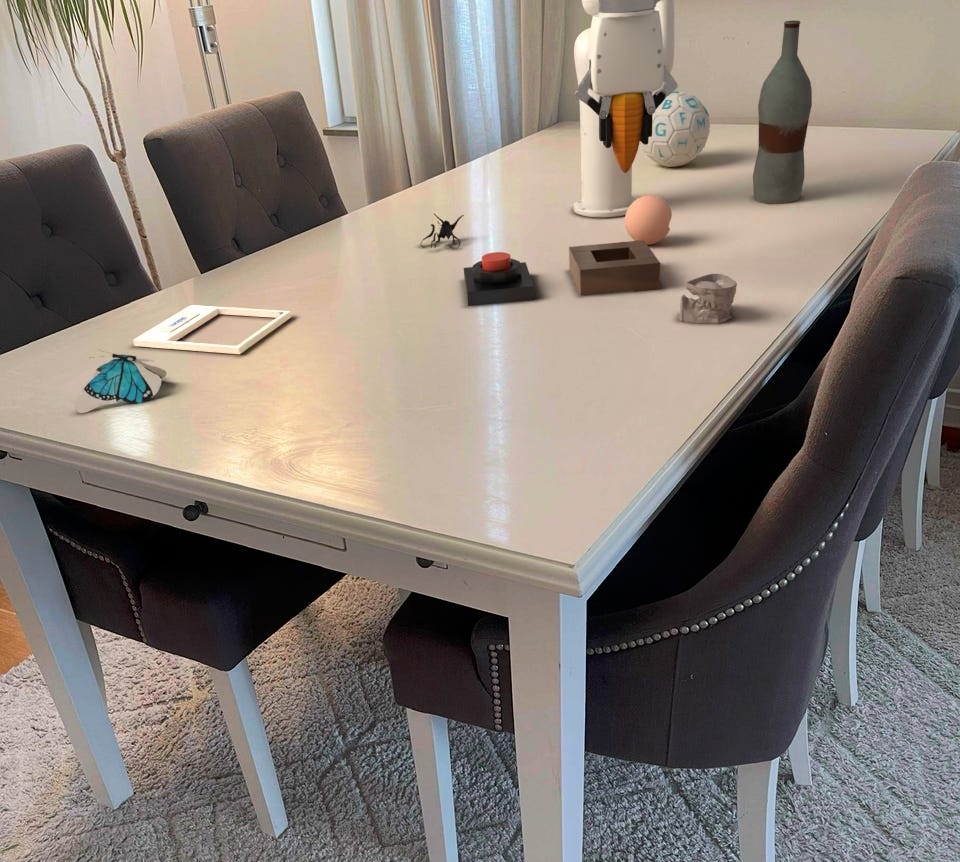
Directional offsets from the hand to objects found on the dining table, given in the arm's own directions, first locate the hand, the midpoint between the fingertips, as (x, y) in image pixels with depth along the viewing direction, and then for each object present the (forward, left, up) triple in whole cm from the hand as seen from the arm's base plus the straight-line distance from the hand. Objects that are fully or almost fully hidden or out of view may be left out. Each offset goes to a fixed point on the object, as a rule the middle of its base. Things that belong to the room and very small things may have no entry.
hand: (625, 143), depth 138 cm
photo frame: (+7, -63, -20) cm, 66 cm away
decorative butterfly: (+27, -71, -20) cm, 79 cm away
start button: (0, -20, -16) cm, 26 cm away
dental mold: (+19, +8, -20) cm, 29 cm away
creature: (-27, -28, -20) cm, 44 cm away
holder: (0, -2, -20) cm, 20 cm away
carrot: (0, 0, -4) cm, 4 cm away
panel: (0, -20, -20) cm, 28 cm away
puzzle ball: (-72, +24, -20) cm, 78 cm away
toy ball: (-17, +7, -20) cm, 27 cm away
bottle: (-38, +36, -20) cm, 56 cm away
